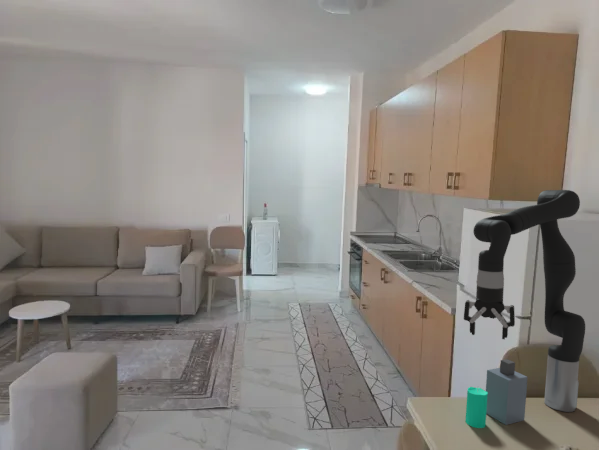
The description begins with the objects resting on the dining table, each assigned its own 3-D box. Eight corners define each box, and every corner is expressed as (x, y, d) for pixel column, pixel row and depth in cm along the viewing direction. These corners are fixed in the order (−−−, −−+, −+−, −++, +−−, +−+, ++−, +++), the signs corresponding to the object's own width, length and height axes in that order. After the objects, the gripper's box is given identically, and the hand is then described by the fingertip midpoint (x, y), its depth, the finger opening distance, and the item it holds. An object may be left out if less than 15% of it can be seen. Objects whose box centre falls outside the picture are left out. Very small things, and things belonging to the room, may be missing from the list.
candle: (487, 429, 130) (490, 391, 129) (467, 426, 131) (469, 389, 130) (483, 419, 136) (485, 383, 135) (463, 416, 137) (466, 381, 136)
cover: (502, 407, 144) (506, 355, 143) (524, 420, 136) (528, 364, 135) (484, 412, 141) (487, 358, 139) (505, 424, 133) (509, 368, 132)
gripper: (516, 284, 129) (514, 336, 131) (466, 280, 136) (465, 329, 137) (515, 289, 123) (513, 344, 124) (463, 284, 129) (462, 336, 131)
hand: (488, 336), depth 131 cm, fingers open, 8 cm apart
